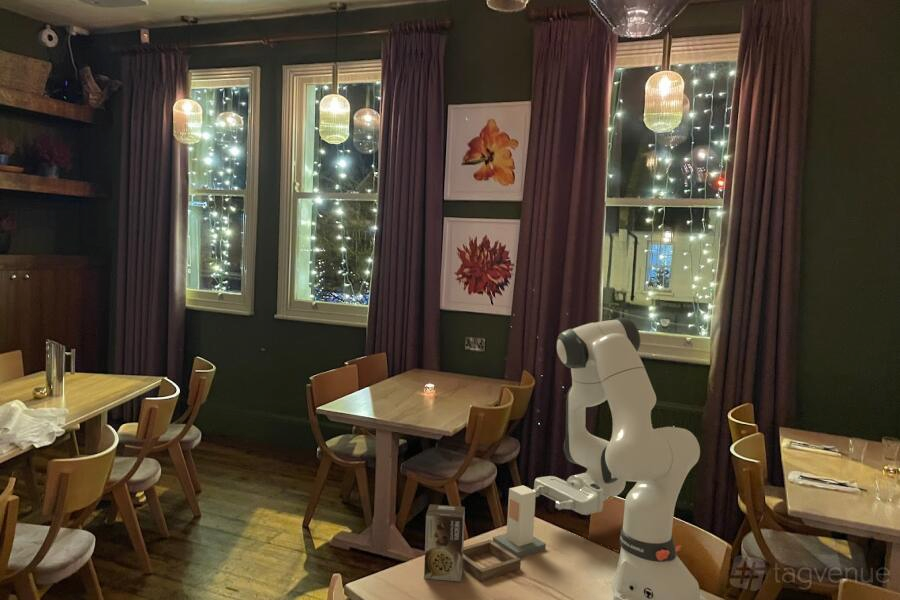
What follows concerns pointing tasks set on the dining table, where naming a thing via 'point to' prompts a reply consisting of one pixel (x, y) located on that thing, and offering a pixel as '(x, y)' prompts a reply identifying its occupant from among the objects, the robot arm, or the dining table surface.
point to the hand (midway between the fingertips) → (544, 499)
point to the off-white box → (521, 515)
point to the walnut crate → (495, 570)
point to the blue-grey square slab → (520, 550)
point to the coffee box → (444, 542)
